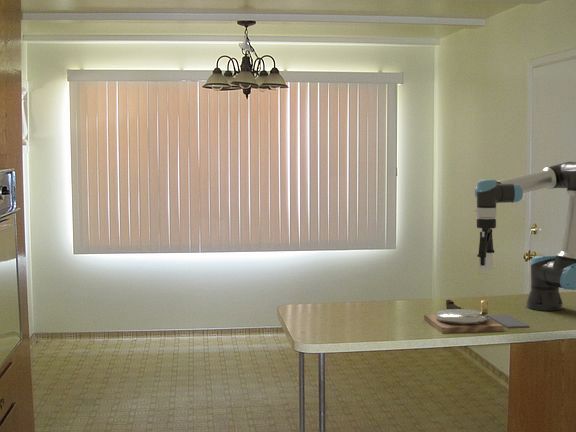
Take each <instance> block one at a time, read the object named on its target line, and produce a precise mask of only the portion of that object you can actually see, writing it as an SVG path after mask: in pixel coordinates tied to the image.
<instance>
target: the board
mask: <svg viewBox="0 0 576 432" xmlns="http://www.w3.org/2000/svg"><path fill="white" fill-rule="evenodd" d="M423 320H424V321H425V322H426V323H428V324H429V325H431V326H432V327H434V329H436V330H437V331H439V332H440V333H441V334H447V333H448V334H449V333H450V334H451V333H477V332H478V331H485V332H504V326H503V325H501V324H499V323H498V322H496V321H494V320H492V319H491V318H489V317H488V322H486V323H482V324H472V325H462V324H451V323H445V322H441V321H439V320H437V313H436V314H423ZM478 333H479V332H478Z"/></svg>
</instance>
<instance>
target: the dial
mask: <svg viewBox="0 0 576 432" xmlns="http://www.w3.org/2000/svg"><path fill="white" fill-rule="evenodd" d="M488 304H489V301H488V300H486V299H483V300H481V301H480V310H477V309H465V308H463V309H449V310H447V309H443V310H439V311H437V312H436V314H437V320H439V321H441V322H445V323H451V324H462V325H472V324H482V323H486V322H488V315H489V314H488V313H489V312H488V311H489V309H488V308H489V305H488Z"/></svg>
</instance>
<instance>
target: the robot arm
mask: <svg viewBox="0 0 576 432" xmlns="http://www.w3.org/2000/svg"><path fill="white" fill-rule="evenodd" d="M543 189H547V190H553V189H566V192H567V194H568V195H569V198H568V199H569V200H568V204H567V205H568V206H567V209H566V210H567V212H566V215H565V216H566V217H565V222H564V227H563V234H562V239H561V244H560V250H559V252H558V253H557V254H555V255H554V254H553V255H537V256H532V258H531V262H530V263H531V264H530V290H529V294H528V297H527V300H526V307H527V308H528V309H531V310H535V311H545V312H546V311H547V312H548V311H550V312H551V311H552V312H553V311H561V310H563V309H564V304H563V300H562V297H561V294H560V288H561V289H564V290H567V291H568V290H569V291H570V290H571V291H576V161H566V162H563V163H558V164H555V165H551V166H547V167H544V168H543V169H542V170H541V171H537V172H535V171H534V172H531V173H528V174H527V173H526V174H521V175H518V176H514V177H509V178H505V179H501V180H496V179H479V180H478V181H477V183H476V187H475V188H474V196H475V198H476V209H475V211H474V212H475V213H476V218H477V219H476V228H477V229H481V231H479V245H478V254H477V258H479V262H478V263H479V264H478V265H479V267H478V268H479V269H478V274H480V275H481V274H482V275H483V274H484V275H486V274H487V270H493V254H494V253H495V250H494V242H493V241H494V239H493V229H496V228H497V218H496V217H497V204H501V203H502V204H505V203H512V204H514V203H518V202H520V201H521V200H522V199H523V195H524V194H525V193H531V192H534V191H538V190H543Z"/></svg>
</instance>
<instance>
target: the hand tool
mask: <svg viewBox="0 0 576 432" xmlns="http://www.w3.org/2000/svg"><path fill="white" fill-rule="evenodd" d="M445 306H446V310H449V309H464V308H462V307H460V306H458V305H456V304H455V302H454V301H453V300H452V299H447V300H446V301H445Z"/></svg>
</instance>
